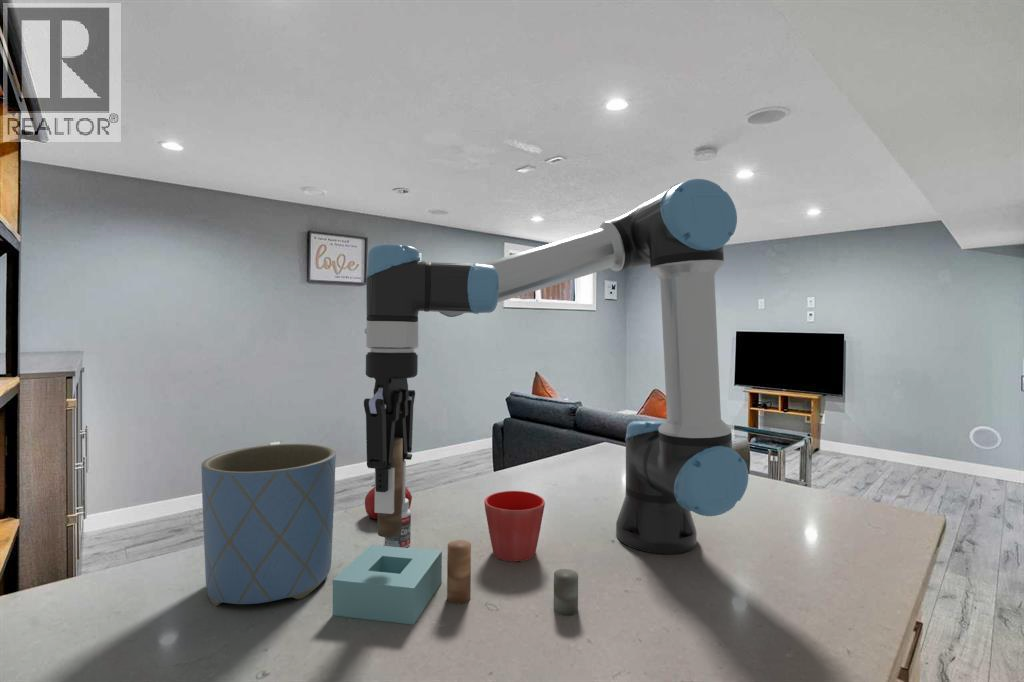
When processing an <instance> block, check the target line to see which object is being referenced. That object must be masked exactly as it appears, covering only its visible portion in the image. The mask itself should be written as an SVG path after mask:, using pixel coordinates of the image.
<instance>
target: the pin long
mask: <svg viewBox="0 0 1024 682" xmlns="http://www.w3.org/2000/svg"><path fill="white" fill-rule="evenodd" d="M402 460H403V438H401V437H394V444H393V456H392V468H395V482H394V513H393V514H386V513H378V519H377V536H378V537H382V538H385V537H394V536H397V535H399V534H401V532H402Z"/></svg>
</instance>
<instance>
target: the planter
mask: <svg viewBox="0 0 1024 682" xmlns="http://www.w3.org/2000/svg"><path fill="white" fill-rule="evenodd" d="M336 455H337V454H336V450H334V449H333V448H331V447H328V446H324V445H319V444H312V443H310V444H309V443H280V444H279V443H278V444H266V445H257V446H250V447H244V448H243V447H242V448H238V449H233V450H229V451H225V452H221V453H218V454H214V455H213V456H210V457H208V458H206V459H205V460H203V461H202V462H201V467H200V469H201V495H202V500H201V501H202V524H203V527H202V528H203V542H204V543H203V549H204V569H205V571H204V573H205V587H206V592H207V596H208V599H209V600H210V602H211V604H212V605H214V606H215V607H218V606H220V605H221V604H222V603H225V604H232V605H233V604H234V605H255V604H263V603H270V602H273V601H279V600H284V599H289V598H294V599H295V600H297V601H298V600H302V599H304V598H306V597H307V596H308V595H310V594H311V593H312V592H313V591H314V590H315V589H316V588H317V587H318V586H320V585H321V584H322V582H323V581H324V580H325V579H326V578H327V576H328V575H329V573H330V571H331V567H332V561H333V560H332V557H333V553H332V552H333V538H334V537H333V532H334V510H335V491H336V490H335V488H336V487H335V486H336V484H335V483H336V457H337V456H336Z"/></svg>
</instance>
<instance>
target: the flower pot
mask: <svg viewBox="0 0 1024 682" xmlns="http://www.w3.org/2000/svg"><path fill="white" fill-rule="evenodd" d="M483 502H484V503H483V504H484V510H485V514H486V515H485V516H486V522H487V528H488V534H489V539H490V543H491V548H492V553H493V555H494V557H496V558H498V559H499V560H502V561H505V562H515V563H516V562H518V561H519V562H524V561H525V562H526V561H527V560H530V559H532V558H533V557H535V555H536V552H537V547H538V542H539V539H540V534H541V533H540V532H541V528H542V527H541V526H542V522H543V517H544V511H545V505H546V502H545V500H544V498H543V497H542V496H540V495H538V494H537V493H533V492H529V491H522V490H505V491H498V492H494V493H492V494H490V495H488V496H486V497H485V498H484V501H483Z"/></svg>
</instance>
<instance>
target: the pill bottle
mask: <svg viewBox="0 0 1024 682" xmlns="http://www.w3.org/2000/svg"><path fill="white" fill-rule="evenodd" d="M408 508H409V500H408V499H407V498H405V503H404V504H402V532H401V534H399V535H397V536H394V537H384V546H390V547H402V548H409V546H410V545H411V541H412V540H411V534H412V533H411V531H412V530H411V519H412V518H411V515H412V514H411V509H410V508H409V509H408Z"/></svg>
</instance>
